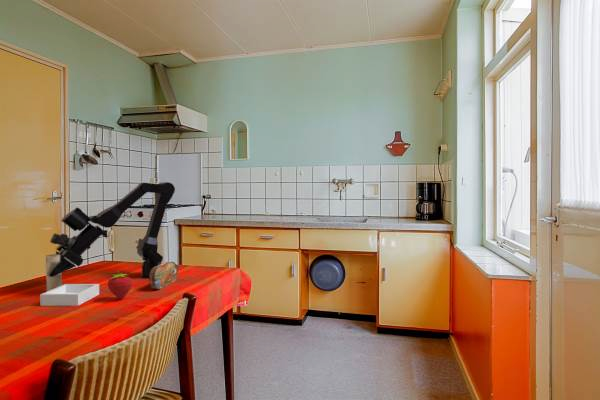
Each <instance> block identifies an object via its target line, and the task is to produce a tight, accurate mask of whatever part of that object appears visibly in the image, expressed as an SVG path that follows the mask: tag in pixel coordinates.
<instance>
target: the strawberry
mask: <svg viewBox="0 0 600 400" xmlns="http://www.w3.org/2000/svg"><path fill="white" fill-rule="evenodd" d="M133 284H134V282H133V279H132V278H131V277H129V276H128V273H119V271H117V274H112V277H110V278H109V280H108V281H107V287H108V289H109V291H110V293H112V295H114V296H115V298H117V300H121V301H122V300H123V299H124V298H125V297H126V295H127V294H129V292H130V291H131V289H132V287H133Z"/></svg>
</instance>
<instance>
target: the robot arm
mask: <svg viewBox="0 0 600 400" xmlns="http://www.w3.org/2000/svg"><path fill="white" fill-rule="evenodd" d="M175 192H176V187H175V185H174V184H173V183H171V182H167V181H165V182H164V181H163V182H158V183H149V182H140V183H139V184H138V185H137V186H136V187H134V188H133V189H132V190H131V191H130V192H128V193H127V194H125V196H124V197H123V198H121V199H120V200H118V202H116V203H115V204H113V205H112V206H110V207H107V208H105V209H104V210H101V211H100V212H98V213H97V214H96V215H90V216H88V215H87V214H86V213H85V212H83V211H82V209H81V208H79V207H75V208H74V209H72V210H71V211H70V212H67V214H64V217H62V218H61V220H60V221H61V222H62V223H64V224H65V225H66V226H67V227H68V228H70V229H71V230H73V231H74V232H76V231H80V232H79V233H78V234H77V235H73V236H72V237H69V235H68V234H65V233H61V234H60V233H53V235H52V236H51V239H50V240H49V242H50V243H51V244H54V245H58V246H57V247H56V248H55V254H60V261H59V263H58V264H57V265H56V267H55V268H54V269H53V270H52V272H51V273H50V274H49V276H51V277H53V276H55V275H57V274H60V273H62V274H63V273H65V272H66V271H68V270H71V269H73V268H76V267H80V266H81V265H82V264H83V263H84V259H83V257H82V255H83V254H84V253H85V251H87V250H90V248H92V247H91V246H92V245H93V244H94V243H95V242H96V241H97V240H98V239H99V238H100V237H101V236H102V237H103V238H106V239H108V230H107V229H104V230H103V229H102V228H112V227H113V226H114V225H115V224H117V222H118V221H119V220H120V218H121V216H122V215H123V213H125V211H127V210H128V209H129V208H130V207H131V206H133V205H134V204H135V203H137V201H139V200H140V199H141V198H142V197H143V196H144V195H146V194H147V193H151V194H152V193H154V200H155V201H154V206H153V209H152V211H151V212H152V213H151V216H150V219H149V222H148V223H149V224H148V225H147V230H146V232H145V236H144V237H143V238H139V239H138V244H137V246H136V248H135V249H136V250H137V251H136V254H137V255H138V256H139V257H141V259H142V261H143V263H142V265H141V275H142V276H141V277H140V278H141V279H149V274H150V271H151V269H152V268H153V267H155V266H158V265H160V264H162V262H163V260H164V259H163V258H164V257H163V255H162V254H160V253H159V252H158V247H159V244H158V236H159V232H160V230H161V226H162V222H163V218H164V215H165V212H166V208H167V205H168V203H169V202H170V201H171V200H172V198H173V196H174V194H175ZM92 224H96V225H92Z"/></svg>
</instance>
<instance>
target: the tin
mask: <svg viewBox="0 0 600 400" xmlns="http://www.w3.org/2000/svg"><path fill="white" fill-rule="evenodd" d="M178 271H179V270H178V265H177V264H176V262H174V261H166V262H163V263H161V264H160V265H158V266H155V267H153V268H152V269H151V271H150V274H149V278H148V280H149V281H148V282H149V287H150V288H151V289H154V290H162V289H165V288H167V287H168V286H171V285H172V284H174V283H175V282H176V280H177V279H178V275H179V274H178Z"/></svg>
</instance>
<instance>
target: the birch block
mask: <svg viewBox="0 0 600 400" xmlns="http://www.w3.org/2000/svg"><path fill="white" fill-rule="evenodd" d="M59 261H60V254H56V253H55V254H54V253H53V254H46V255H45V270H46V271H45V277H46V279H45V280H46V292H47V291H50V290H52V289H55V288H57V287H59V286H62V285H63V275H62V274H63V272H62V273H60V274H57V275H55V276H53V277H51V276H49V274H50V273H51V272H52V270H53V269H54V268H55V267H56V265H57V264H58V263H59Z"/></svg>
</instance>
